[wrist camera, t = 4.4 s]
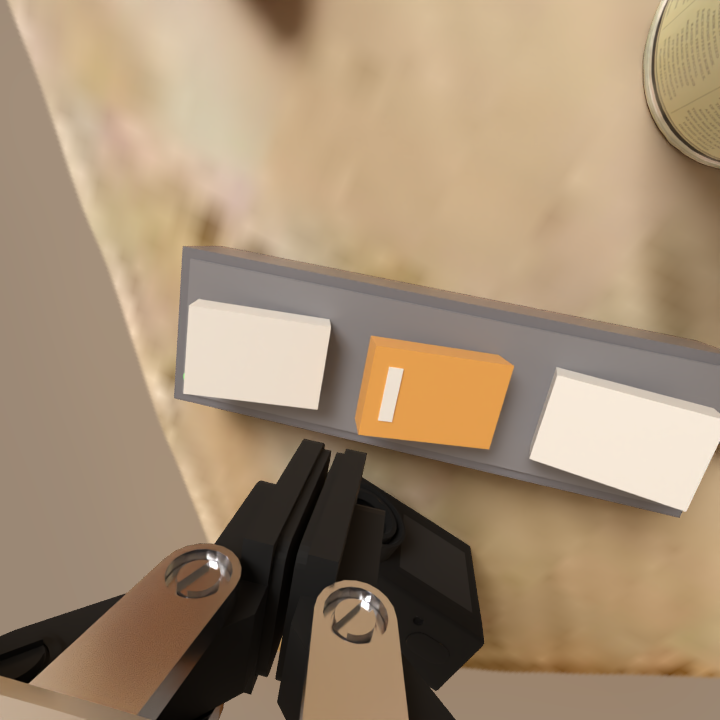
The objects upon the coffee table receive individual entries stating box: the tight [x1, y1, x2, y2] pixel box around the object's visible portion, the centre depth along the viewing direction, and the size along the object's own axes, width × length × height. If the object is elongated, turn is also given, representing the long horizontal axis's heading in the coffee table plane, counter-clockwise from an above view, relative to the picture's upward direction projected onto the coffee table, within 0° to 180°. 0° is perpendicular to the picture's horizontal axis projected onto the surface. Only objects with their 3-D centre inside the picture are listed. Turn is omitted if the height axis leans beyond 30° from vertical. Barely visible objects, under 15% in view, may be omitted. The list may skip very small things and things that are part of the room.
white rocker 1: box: [183, 299, 331, 410], centre depth 19 cm, size 6×4×2 cm, turn 79°
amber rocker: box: [355, 336, 514, 449], centre depth 19 cm, size 6×4×2 cm, turn 79°
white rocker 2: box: [529, 367, 720, 512], centre depth 18 cm, size 6×4×2 cm, turn 81°
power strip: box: [174, 246, 720, 518], centre depth 22 cm, size 32×8×4 cm, turn 80°
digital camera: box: [326, 470, 484, 691], centre depth 24 cm, size 10×5×7 cm, turn 59°
